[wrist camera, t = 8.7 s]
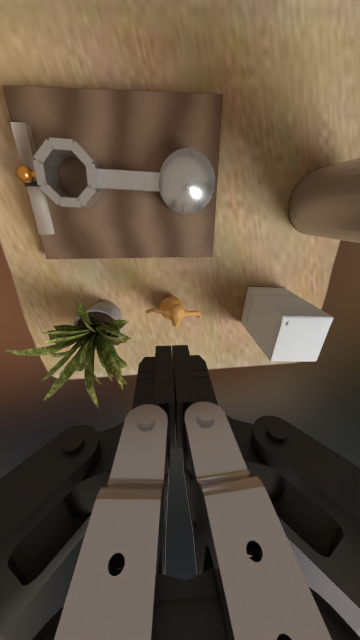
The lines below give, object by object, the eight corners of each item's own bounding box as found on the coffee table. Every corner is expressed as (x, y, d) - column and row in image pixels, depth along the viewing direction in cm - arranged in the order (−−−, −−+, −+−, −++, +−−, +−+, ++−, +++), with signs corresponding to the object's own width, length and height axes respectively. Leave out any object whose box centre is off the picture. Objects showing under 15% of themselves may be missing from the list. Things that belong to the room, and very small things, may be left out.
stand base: (218, 101, 29) (225, 88, 26) (210, 254, 37) (214, 258, 34) (12, 94, 27) (-6, 79, 24) (52, 256, 35) (42, 260, 32)
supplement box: (239, 322, 43) (268, 362, 32) (247, 285, 40) (282, 314, 29) (276, 324, 44) (316, 363, 32) (286, 287, 41) (336, 316, 29)
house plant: (57, 344, 42) (2, 416, 27) (54, 271, 36) (-18, 312, 21) (135, 353, 44) (122, 423, 29) (143, 285, 38) (133, 331, 24)
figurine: (146, 312, 40) (142, 348, 30) (148, 279, 38) (144, 306, 27) (192, 315, 41) (203, 351, 31) (196, 283, 39) (210, 311, 28)
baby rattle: (212, 156, 29) (220, 148, 26) (207, 215, 32) (213, 215, 29) (19, 142, 27) (-2, 131, 23) (33, 206, 30) (16, 206, 26)
